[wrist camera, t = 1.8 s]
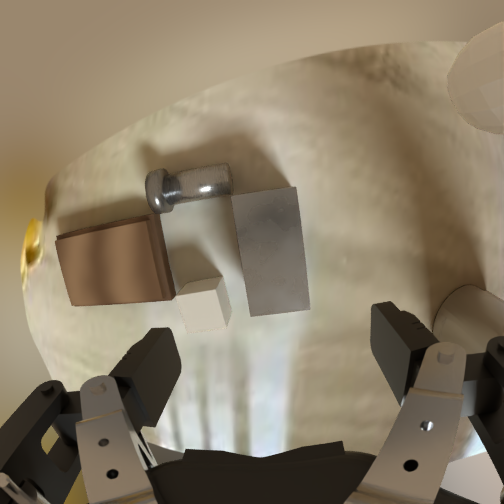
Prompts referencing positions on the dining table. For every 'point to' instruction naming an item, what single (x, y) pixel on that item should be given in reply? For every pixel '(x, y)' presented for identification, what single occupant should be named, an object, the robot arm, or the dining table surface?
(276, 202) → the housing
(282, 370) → the dining table surface
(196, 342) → the dining table surface
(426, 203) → the dining table surface
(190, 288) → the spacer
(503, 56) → the cup
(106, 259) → the stand
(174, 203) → the bolt
